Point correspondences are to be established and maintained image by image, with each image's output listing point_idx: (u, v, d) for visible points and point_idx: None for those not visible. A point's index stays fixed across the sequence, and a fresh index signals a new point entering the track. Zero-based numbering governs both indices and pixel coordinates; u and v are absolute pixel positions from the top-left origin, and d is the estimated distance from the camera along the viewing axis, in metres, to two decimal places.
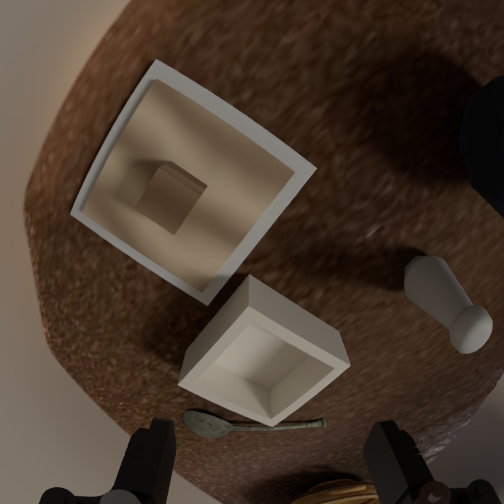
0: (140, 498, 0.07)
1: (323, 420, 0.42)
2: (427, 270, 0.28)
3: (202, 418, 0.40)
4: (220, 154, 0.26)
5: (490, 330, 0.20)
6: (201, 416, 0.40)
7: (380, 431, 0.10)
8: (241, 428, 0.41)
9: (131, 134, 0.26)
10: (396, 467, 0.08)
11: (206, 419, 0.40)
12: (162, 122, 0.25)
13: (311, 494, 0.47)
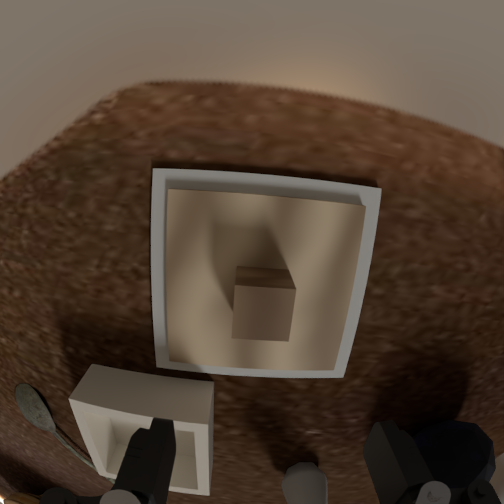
0: (140, 498, 0.07)
1: None
2: (316, 483, 0.29)
3: (38, 406, 0.29)
4: (318, 310, 0.25)
5: None
6: (40, 404, 0.29)
7: (380, 431, 0.10)
8: (60, 438, 0.31)
9: (295, 210, 0.23)
10: (396, 467, 0.08)
11: (41, 410, 0.29)
12: (324, 238, 0.24)
13: None
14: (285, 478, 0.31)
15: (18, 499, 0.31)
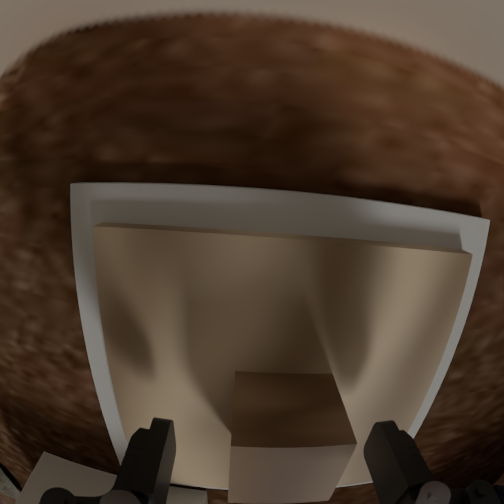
0: (140, 498, 0.07)
1: None
2: None
3: (2, 478, 0.17)
4: (373, 422, 0.13)
5: None
6: (3, 477, 0.17)
7: (380, 431, 0.10)
8: None
9: (355, 268, 0.11)
10: (396, 467, 0.08)
11: (6, 483, 0.17)
12: (401, 318, 0.11)
13: None
14: None
15: None
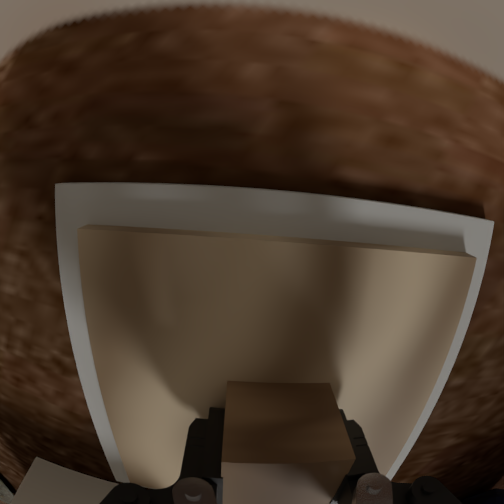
0: None
1: None
2: None
3: None
4: (371, 431, 0.12)
5: None
6: (0, 483, 0.16)
7: None
8: None
9: (354, 273, 0.10)
10: None
11: (2, 489, 0.16)
12: (402, 324, 0.11)
13: None
14: None
15: None
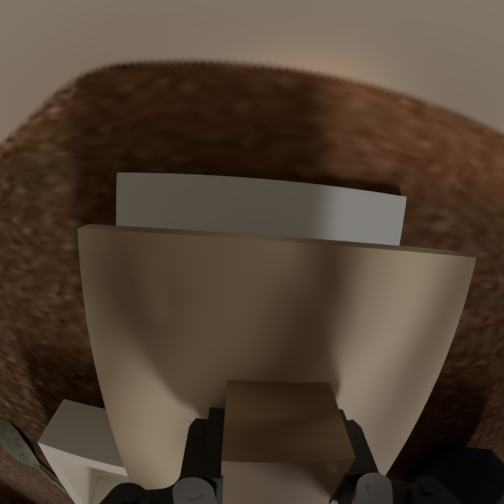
0: None
1: None
2: None
3: (20, 444, 0.23)
4: (371, 430, 0.12)
5: None
6: (21, 442, 0.23)
7: None
8: (45, 474, 0.25)
9: (353, 273, 0.10)
10: None
11: (23, 448, 0.23)
12: (402, 324, 0.11)
13: None
14: None
15: None
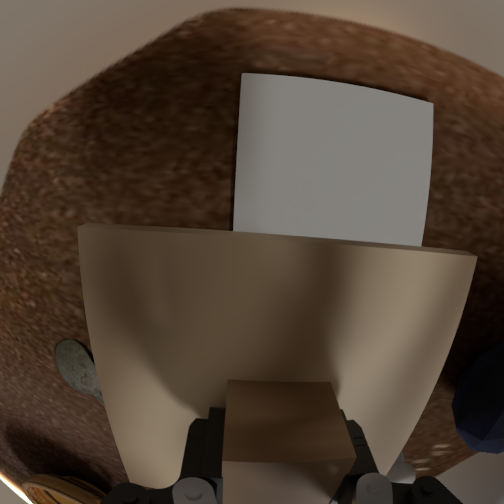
0: None
1: None
2: None
3: (85, 363, 0.30)
4: (372, 430, 0.12)
5: None
6: (87, 361, 0.31)
7: None
8: None
9: (355, 271, 0.10)
10: None
11: (88, 368, 0.31)
12: (403, 323, 0.11)
13: (75, 486, 0.35)
14: None
15: (39, 480, 0.33)
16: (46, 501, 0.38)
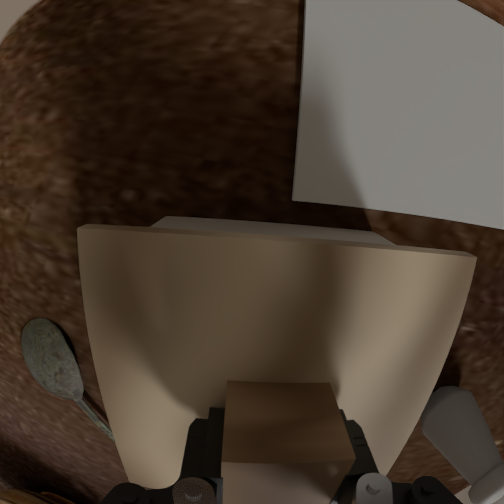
0: None
1: None
2: (474, 405, 0.19)
3: (61, 353, 0.20)
4: (371, 431, 0.12)
5: None
6: (64, 350, 0.20)
7: None
8: (88, 411, 0.22)
9: (354, 272, 0.10)
10: None
11: (65, 361, 0.20)
12: (402, 324, 0.11)
13: None
14: (432, 409, 0.21)
15: (10, 498, 0.22)
16: None
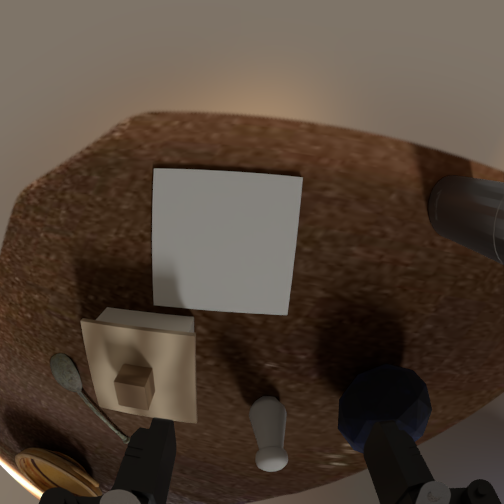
0: (140, 498, 0.07)
1: (128, 439, 0.49)
2: (275, 410, 0.42)
3: (71, 370, 0.43)
4: (176, 390, 0.38)
5: (281, 468, 0.35)
6: (73, 369, 0.43)
7: (380, 431, 0.10)
8: (83, 397, 0.45)
9: (149, 337, 0.35)
10: (396, 467, 0.08)
11: (73, 374, 0.43)
12: (170, 353, 0.36)
13: (57, 456, 0.47)
14: (251, 407, 0.44)
15: (29, 452, 0.44)
16: (34, 474, 0.49)
